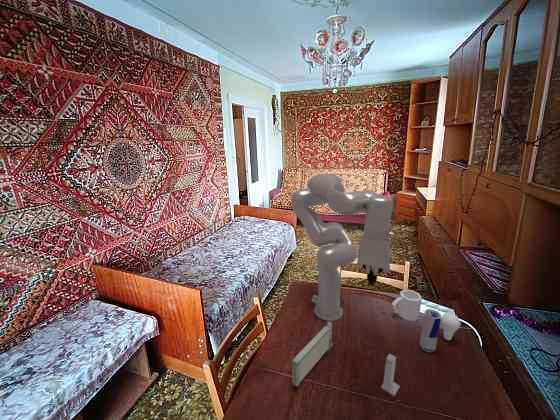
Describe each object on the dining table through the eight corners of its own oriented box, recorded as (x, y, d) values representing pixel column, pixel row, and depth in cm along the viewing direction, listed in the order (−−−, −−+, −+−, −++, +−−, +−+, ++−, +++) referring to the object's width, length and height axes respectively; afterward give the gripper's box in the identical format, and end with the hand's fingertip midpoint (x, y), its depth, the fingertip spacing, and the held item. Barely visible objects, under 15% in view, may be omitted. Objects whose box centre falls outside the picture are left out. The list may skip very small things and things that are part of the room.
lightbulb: (454, 335, 101) (458, 311, 98) (459, 347, 95) (464, 321, 92) (436, 332, 103) (440, 308, 100) (440, 343, 97) (444, 318, 94)
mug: (409, 307, 118) (412, 288, 115) (423, 319, 110) (426, 299, 107) (386, 311, 116) (388, 291, 113) (398, 324, 107) (400, 303, 105)
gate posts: (317, 345, 97) (318, 320, 94) (324, 339, 100) (324, 315, 97) (394, 396, 77) (398, 367, 74) (399, 387, 80) (403, 359, 77)
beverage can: (437, 354, 92) (443, 318, 88) (421, 352, 93) (427, 317, 89) (432, 343, 97) (438, 309, 93) (417, 342, 98) (422, 307, 94)
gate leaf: (324, 346, 95) (325, 325, 93) (329, 348, 94) (329, 327, 92) (292, 383, 81) (292, 360, 79) (297, 386, 80) (297, 363, 77)
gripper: (403, 233, 83) (396, 284, 88) (356, 226, 91) (353, 272, 96) (399, 241, 77) (392, 295, 82) (349, 232, 85) (346, 282, 90)
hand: (371, 283), depth 89 cm, fingers closed
